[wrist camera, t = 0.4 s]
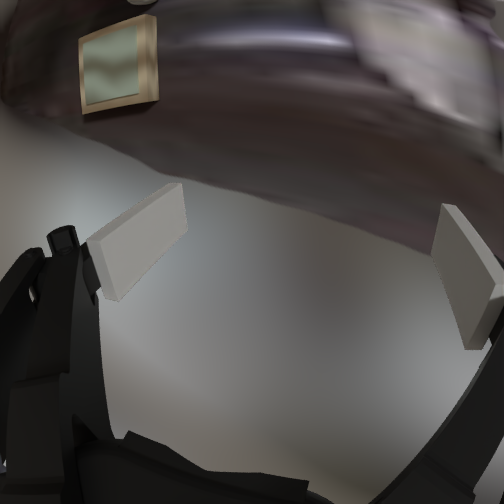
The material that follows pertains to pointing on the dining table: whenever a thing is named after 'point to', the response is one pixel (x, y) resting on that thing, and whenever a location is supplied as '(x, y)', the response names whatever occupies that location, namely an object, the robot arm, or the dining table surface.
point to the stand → (119, 65)
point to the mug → (141, 2)
